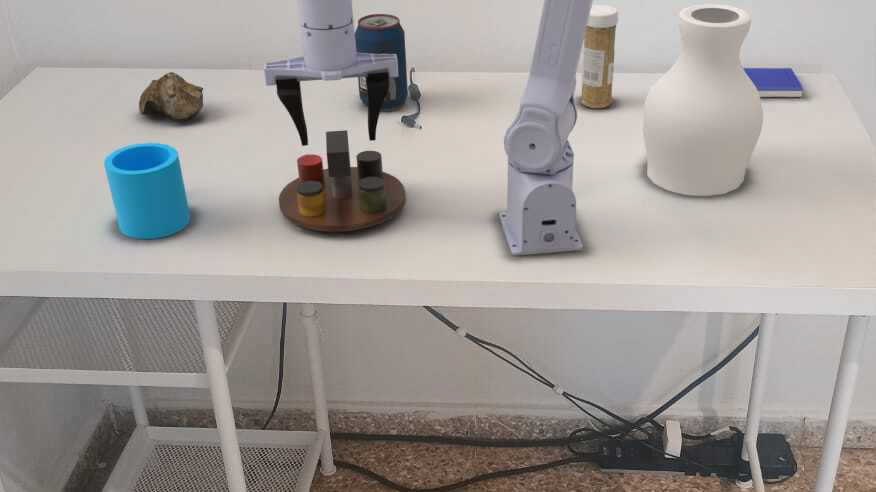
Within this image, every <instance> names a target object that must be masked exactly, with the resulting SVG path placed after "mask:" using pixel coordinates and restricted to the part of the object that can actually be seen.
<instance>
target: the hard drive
mask: <svg viewBox="0 0 876 492" xmlns="http://www.w3.org/2000/svg"><path fill="white" fill-rule="evenodd" d="M743 69H744V71H745V73H746V74H747V75H748V77H749V78H750V79H751V81H752V82H753V84H754V85H755V87H756V88H757V90H758V93H759V95H760V98H762V97H763V98H764V97H765V98H767V97H768V98H771V97H772V98H773V97H774V98H782V97H783V98H784V97H785V98H792V97H794V98H799V97H800V98H801V97H802V95H803V89H804V88H803V86H802V83H801V82H800V81H799V78H798V77H797V75H796V73H795V72H794V70H793V68H791V67H780V68H779V67H743Z"/></svg>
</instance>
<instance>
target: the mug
mask: <svg viewBox="0 0 876 492" xmlns="http://www.w3.org/2000/svg"><path fill="white" fill-rule="evenodd" d="M103 166H104V170H105V174H106V175H105V176H106V179H107V183H108V187H109V190H110V194H111V199H112V202H113V207H114V211H115V216H116V219H117V220H116V221H117V224H118V227H119V230H120V231H121V233H122V234H123V235H125V236H127V237H129V238H132V239H137V240H155V239H161V238H165V237H168V236H172V235H174V234H176V233H178V232H180V231H182V230H183V229H185V228H186V227H187V226H188V225H189V223H190V222H191V213H190V208H189V202H188V198H187V193H186V188H185V183H184V178H183V173H182V166H181V162H180V157H179V151H178V150H177V149H176V148H175V147H174V146H171V145H169V144H166V143H161V142H160V143H159V142H143V143H135V144H131V145H130V144H129V145H127V146H124V147H120V148H118V149H116V150H114V151H112V152H111V153H109V154H107V156H106V158H105V159H104V162H103Z"/></svg>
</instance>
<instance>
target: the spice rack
mask: <svg viewBox="0 0 876 492" xmlns="http://www.w3.org/2000/svg"><path fill="white" fill-rule="evenodd" d="M348 134H349V133H348V130H347V129H346V130H345V129H344V130H329V131H325V147H326V148H325V149H326V161H327V162H326V163H327V168H324V164H323V163H324V162H323V158H322V156H321V155H318V154H304V155H301V156H299V157H298V158H296V159H297V160H296V165H297V172H298V173H297V174H298V177H296V178H295V179H293V180H291V181H290V182H289V183H287V184H286V185H285V187H283V188H282V190H281V191H280V193H279V196H278V206H279V207H278V208H279V211H280V213H281V214H282V216H283V217H284V218H285V219H286V220H287V221H289V222H290V223H291V224H294V225H296V226H298V227H302V228H304V229H308V230H313V231H319V232H334V233H335V232H336V233H337V232H350V231H356V230H357V231H358V230H363V229H367V228H371V227H375V226H377V225H380V224H382V223H385V222H386V221H389V220H391V218H394V217H395V216H396V215H398V213H400V211H402V209H403V208H404V206H405V204H406V201H407V200H406V199H407V197H406V188H405V186H404V184H403V183H402V182H401V180H400V179H398V178H397V177H396V176H394V175H392V174H391V173H388V172H385V171H383V159H382V154H381V152H379V151H376V150H363V151H361V152H358V153H357V154H356V155H355V156H356V166H351V155H350V145H349V135H348Z"/></svg>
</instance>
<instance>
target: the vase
mask: <svg viewBox="0 0 876 492" xmlns="http://www.w3.org/2000/svg"><path fill="white" fill-rule="evenodd" d="M751 16H752V15H751V14H750V13H749V12H747V11H746V10H744V9H742V8H739V7H737V6H734V5H728V4H723V3H722V4H721V3H703V4H701V3H700V4H695V5H690V6H687V7H684V8H683V9H681V10H680V11H679V15H678V29H679V35H680V39H681V43H682V46H681V52H680V54H679V55H678V58H677V59H676V61H675V62H674V64H673V65H672V66H671V68H669V69H668V70H667V71H666V72H664V74H663V75H662V76H661V77H660V78H659V79H658V80H657V81H656V82H655V83H654V84H653V85H652V87H651V88H650V90H649V91H648V93H647V95H646V98H645V102H644V105H643V115H642V118H643V119H642V131H643V140H644V146H645V152H646V153H645V154H646V158H647V167H646V168H647V169H646V176H647V178H649V180H650V181H651V182H652V183H653V184H654V185H656V186H658V187H660V188H662V189H663V190H665V191H668V192H672V193H675V194H680V195H685V196H694V197H695V196H696V197H710V196H711V197H712V196H717V195H725V194H727V193H729V192H732V191H734V190H737V189H738V188H739V187H740V185H742V183H743V182H744V179H745V175H746V171H747V168H748V165H749V162H750V160H751V158H752V155H753V153H754V151H755V149H756V147H757V144H758V140H759V138H760V135H761V133H762V128H763V122H764V110H763V105H762V100H761V97H760V95H759V93H758V90H757V88H756V87H755V85H754V84H753V82H752V81H751V79H750V78H749V77H748V75H747V74H746V73H745V71H744V69H743V68H744V67H743V66H742V62H741V60H740V52H741V48H742V45H743V43H744V41H745V39H746V37H747V36H748V33H749V31H750V29H751V26H752V25H751V24H752V17H751Z"/></svg>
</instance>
